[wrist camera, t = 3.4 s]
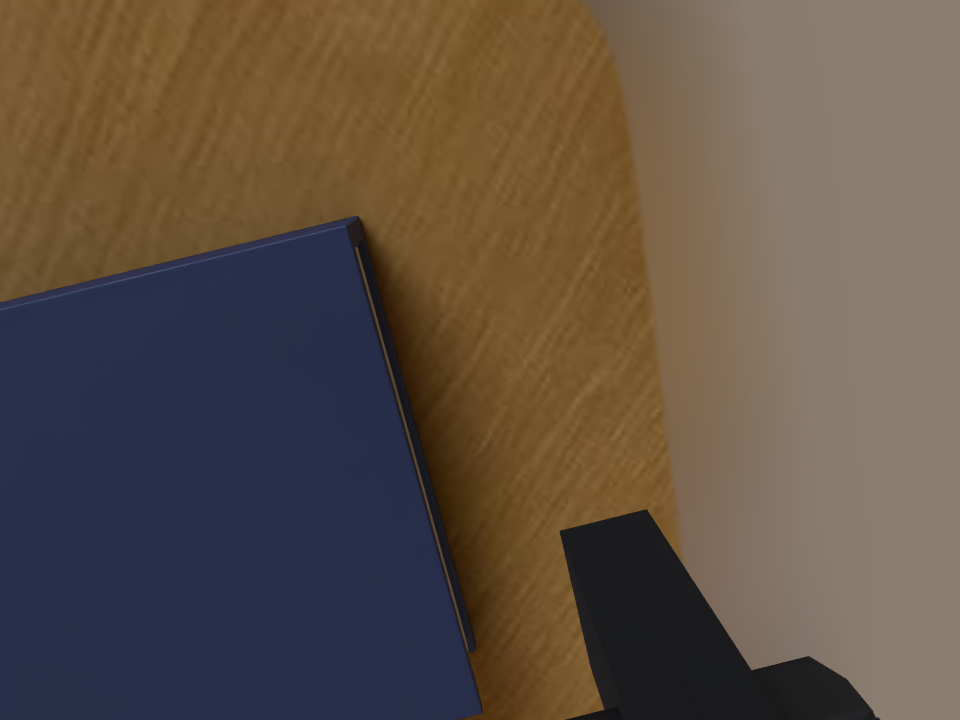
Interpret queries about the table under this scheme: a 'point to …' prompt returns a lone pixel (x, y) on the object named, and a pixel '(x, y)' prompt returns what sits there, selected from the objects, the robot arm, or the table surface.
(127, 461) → the book
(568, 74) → the table surface
